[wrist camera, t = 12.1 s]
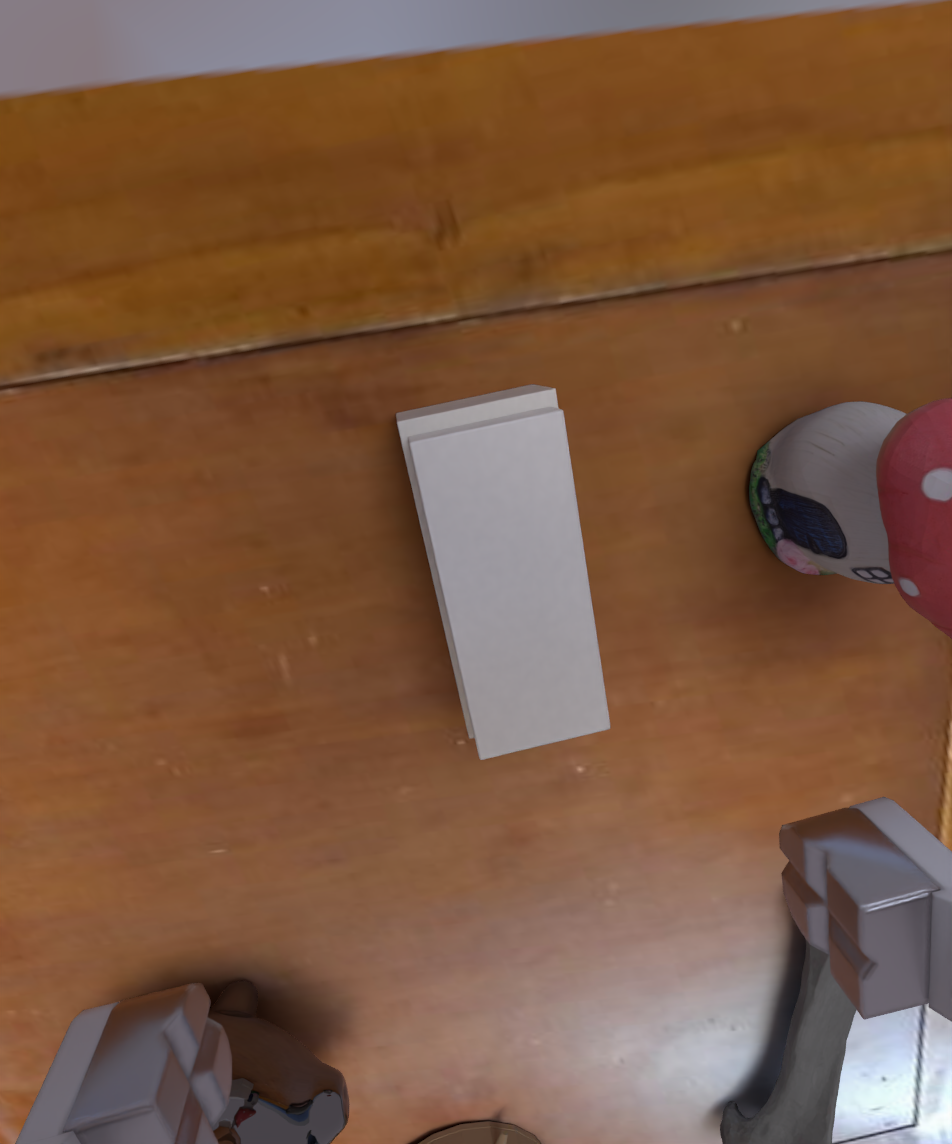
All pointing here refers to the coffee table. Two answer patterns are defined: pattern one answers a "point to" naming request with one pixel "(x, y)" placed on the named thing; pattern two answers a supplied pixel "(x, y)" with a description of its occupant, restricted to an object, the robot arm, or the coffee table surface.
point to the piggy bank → (274, 1080)
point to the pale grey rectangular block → (513, 578)
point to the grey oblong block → (451, 417)
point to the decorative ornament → (864, 499)
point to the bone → (803, 1067)
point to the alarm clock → (482, 1134)
